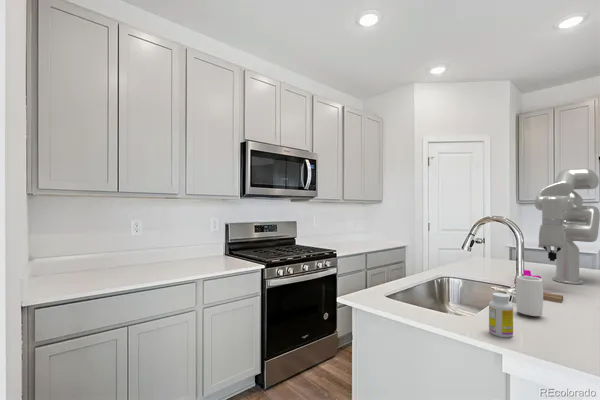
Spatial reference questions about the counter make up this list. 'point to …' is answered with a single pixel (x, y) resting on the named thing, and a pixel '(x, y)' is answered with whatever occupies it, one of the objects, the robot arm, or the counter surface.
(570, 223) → the robot arm
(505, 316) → the supplement bottle
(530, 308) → the cup
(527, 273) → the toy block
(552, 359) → the counter surface
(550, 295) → the plank
